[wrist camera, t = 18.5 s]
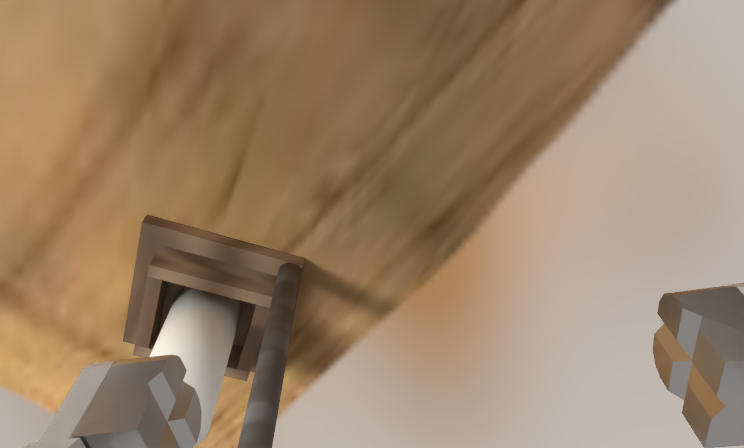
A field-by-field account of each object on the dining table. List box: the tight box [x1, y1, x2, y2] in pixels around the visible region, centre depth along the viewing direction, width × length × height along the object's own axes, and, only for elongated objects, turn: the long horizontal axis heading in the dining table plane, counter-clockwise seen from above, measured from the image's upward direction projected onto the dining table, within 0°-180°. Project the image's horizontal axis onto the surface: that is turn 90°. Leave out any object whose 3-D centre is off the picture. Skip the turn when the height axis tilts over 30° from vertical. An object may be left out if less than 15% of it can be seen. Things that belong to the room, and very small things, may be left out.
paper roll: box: [149, 286, 241, 446], centre depth 45 cm, size 6×6×13 cm
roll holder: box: [123, 215, 305, 448], centre depth 42 cm, size 14×14×23 cm
